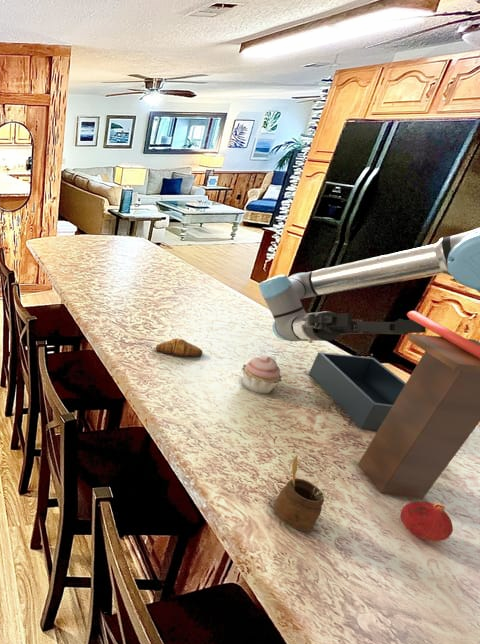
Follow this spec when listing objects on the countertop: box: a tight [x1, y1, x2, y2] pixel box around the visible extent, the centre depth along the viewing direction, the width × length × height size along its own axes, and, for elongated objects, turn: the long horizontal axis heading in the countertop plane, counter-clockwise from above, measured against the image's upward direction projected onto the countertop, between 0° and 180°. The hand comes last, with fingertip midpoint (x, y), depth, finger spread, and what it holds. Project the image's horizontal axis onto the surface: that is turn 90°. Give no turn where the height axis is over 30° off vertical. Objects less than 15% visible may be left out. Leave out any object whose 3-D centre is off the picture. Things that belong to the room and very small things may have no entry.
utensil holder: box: [273, 454, 335, 532], centre depth 67 cm, size 6×6×12 cm
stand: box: [357, 333, 480, 500], centre depth 71 cm, size 10×10×30 cm
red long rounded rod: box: [406, 310, 480, 359], centre depth 67 cm, size 18×2×2 cm, turn 170°
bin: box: [308, 351, 407, 432], centre depth 97 cm, size 23×14×8 cm, turn 170°
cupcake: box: [241, 355, 283, 395], centre depth 101 cm, size 9×9×10 cm
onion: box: [400, 500, 454, 542], centre depth 65 cm, size 6×6×8 cm
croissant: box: [155, 338, 203, 358], centre depth 117 cm, size 14×7×5 cm, turn 80°
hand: (386, 322), depth 80 cm, fingers open, 13 cm apart
